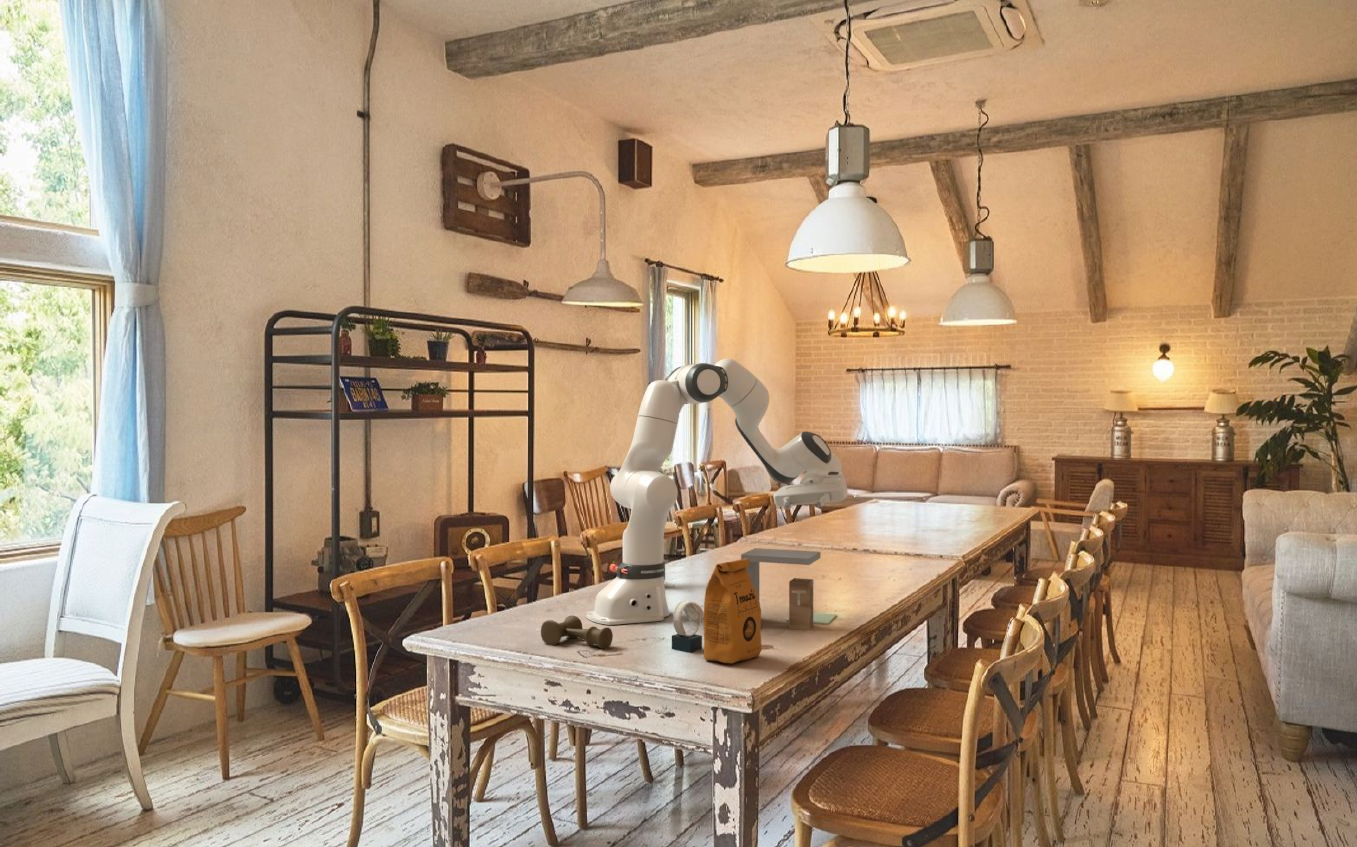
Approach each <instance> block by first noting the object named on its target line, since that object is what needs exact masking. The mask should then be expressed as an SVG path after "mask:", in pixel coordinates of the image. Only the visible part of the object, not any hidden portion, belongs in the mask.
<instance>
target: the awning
mask: <svg viewBox="0 0 1357 847" xmlns="http://www.w3.org/2000/svg"><path fill="white" fill-rule="evenodd" d="M746 558H748V560H749V562H750V565H749V566H748V567H746V570H747V571H748V574H749V577H750V580H751V583H752V585H753V586H754V588H755V590H756V593H757V596H758V598H759V599H760V563H769V564H771V563H772V564H786V565H787V564H788V565H803V566H804V565H805V566H810V565H811V564H813V563H815V562H817V561H818V560H819V559H821V551H817V550H816V551H814V550H797V549H796V550H795V549H782V548H781V549H778V548H776V549H775V548H760V547H754V548H752V549H750V550H748V551H745V552H744V553H741V554H740V560H741V559H746Z"/></svg>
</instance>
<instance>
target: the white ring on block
mask: <svg viewBox="0 0 1357 847" xmlns="http://www.w3.org/2000/svg"><path fill="white" fill-rule="evenodd" d="M683 612H684V614H685V615H686V616H687V618H688V619H689V621H690V622H691V623H690V626H689V628H688V630H687V631H686V630H685V627H684V624H683V621H682V613H683ZM672 615H673V616H672V624H673V628H674V630H675V632H676V634H673V635H671V650H674V651H675V650H676V651H680V652H684V653H690V654H691V653H695V652H697V651H700V650H703V635H699V634H697V632H698V631H699V629H700V625H701V623H702V621H703V617H704V609H702V607H701V606H700V605H699V604H698V603H697V602H695V601H691V600H688V601H687V600H683V601H679V602H678V604H676V607H675V608H674V610H673V614H672Z"/></svg>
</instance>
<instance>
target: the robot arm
mask: <svg viewBox="0 0 1357 847" xmlns="http://www.w3.org/2000/svg"><path fill="white" fill-rule="evenodd" d="M718 397H719V398H720V399H721V400H723V401H724V403H726V404H727V405H728V406H729V407H730V408H731V409H732V410H733V413H734V414H735V420H734V424H735V426H736V429H737V430H738V432H739V434H740V435H741V436H742V438H743V439H744V441H745V442H746V443H747V445H748V446H749V447H750V448H751V450H752V451H753V453H755V455H756V457H757V458H758V459H759V460H760V462H761V464H763V466H764V468H765V470H766V472H767V474H768V475H769V476H770V477H771V479H772V480H773V481H774V482H776V483H779V484H783V486H781V487H780V488H779V489H777V490H776V492H774V494H773V501H774V505H775V506H776V507H778V508H779V507H783V509H784V511H785V510H790V509H792V507H793V506H800V505H801V506H802V505H811V504H812V505H813V504H816V506H817V507H823V506H824V505H825V504H829V503H833V502H842V501H844V500H846V499H847V497H848V486H847V481H846V478H845V475H844V472H842V471H843V470H842V469H843V467H842V462H841V460H840V458H839V457H838V455H836V454H835V453H832V452H831V449H830V447H829V445H828V443H827V442H826V441H825V440H824V439H823V438H822V436H820V435H819V434H816V433H814V432H812V431H802V432H800V433H799V434H798V435H796V436H795V437H794V438H792V439H791V440H790V441H788V442H787V443H786V444H785V445H782V446H781V447H780V448H777V449H776V448H773V447H772V445H771V444H770V443H769V441H768V440H767V439H766V437H765V436H764V434H762V432H761V431H760V429H759V425H760V423H761V421H762V420H763V418H764V416H765V415H766V412H767V411H768V408H769V404H770V394H769V390H768V389H767V386H766V385H764V384H763V382H762V381H761V380H760V379H759V378H758V377H756V375H754V374H753V373H752V372H751V371H750V370H749V369H748V368H746V367H745V366H744V365H743V364H741V363H739V362H738V361H736V360H734V359H733V358H729V357H728V358H722V359H720V360H718V361H717V362H715V363H714V364H710V363H705V362H703V363H702V362H701V363H688V364H685V365H682V366H678V367H676V368H675V369H673V371H671V373H669V375H668V376H667V377H666V378H665V380H664V379H658V380H654V381H652V382H651V383H649V384H648V385H647V388H646V390H645V392H644V395H643V398H642V399H641V403H640V407H639V409H638V414H637V419H636V423H635V429H634V432H633V435H632V441H631V444H630V446H629V450H628V453H627V454H626V456H625V458H624V461H623V463H622V465H621V467H620V469H619V470H618V472H617V473H616V474H614V476H613V478H612V479H611V482H610V484H609V491H610V495H611V497H612V498H613V499H614V501H615V502H616V503H617V504H619V505H620V506H621V507H623V508H625V509H630V515H629V520H628V523H627V526H626V528H625V529H624V531H623V533H622V562H620V564H619V565H618V564H614V563H611V564H610V565H609V571H611V572H613V573H616V577H615V578H614V579H612V580H611V581H610V582H609V583H608V584H607V585H606V586H605V587H604V588H602V589H601V590H600V591H599V592H598V593H597V594H596V597H595V601H594V608H593V610H591V611H587V612H586V619H587V620H589V621H591V622H594V623H597V624H599V625H601V624H602V625H605V626H607V625H609V626H612V625H614V626H615V625H622V624H623V625H624V624H625V625H626V624H635V623H636V624H637V623H648V622H660V621H664V619H665V618H666V617H668V616H669V615H671V613H670V609H669V607H668V602H667V595H666V590H665V589H666V588H665V580H666V562H665V560H664V546H665V545H664V540H665V539H664V538H665V528H666V524H667V520H668V516H669V515H670V514H669V513H670V511H671V509H672V508H673V507H674V506H675V504H676V502H677V499H678V492H679V490H678V487H677V483H676V482H675V481H674V480H673V479H672V478H671V477H670V476H668V475H667V474H665V473H663V472H660V470H661V468H662V466H663V464H664V462H665V461H666V460H667V459H668V457H670V455H671V454H672V452H673V449H674V444H675V443H674V442H675V440H676V434H677V429H678V424H679V418H680V413H681V411H682V409H683V407H684V406H685V405H686V404H687V405H688V404H690V405H698V404H704V403H709V402H711V401H714V400H715V399H717V398H718ZM804 472H805V474H804V475H803V476H802V478H801V479H800V482H799V484H791V483H792V482H793V481H795V480H796V479H797V478H798V477H799V476H800V475H802V474H803V473H804ZM784 484H785V485H784ZM788 484H789V485H788Z"/></svg>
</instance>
